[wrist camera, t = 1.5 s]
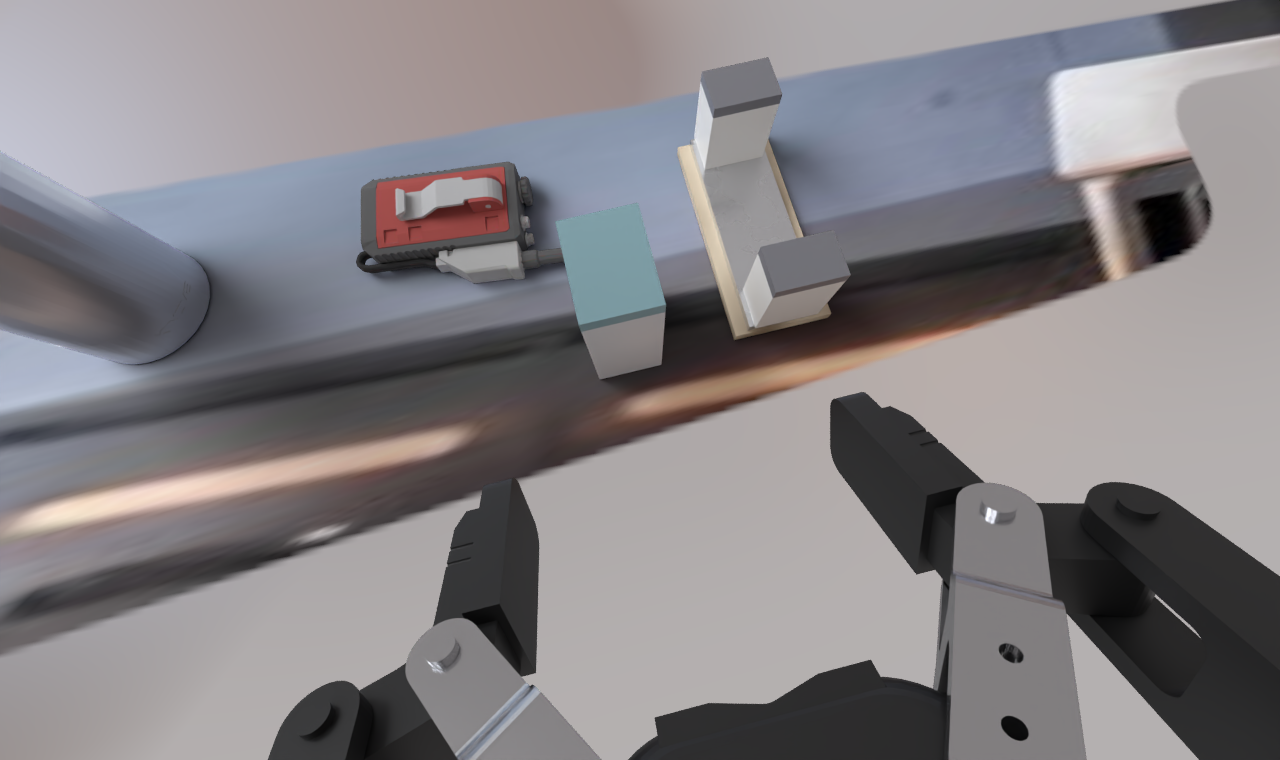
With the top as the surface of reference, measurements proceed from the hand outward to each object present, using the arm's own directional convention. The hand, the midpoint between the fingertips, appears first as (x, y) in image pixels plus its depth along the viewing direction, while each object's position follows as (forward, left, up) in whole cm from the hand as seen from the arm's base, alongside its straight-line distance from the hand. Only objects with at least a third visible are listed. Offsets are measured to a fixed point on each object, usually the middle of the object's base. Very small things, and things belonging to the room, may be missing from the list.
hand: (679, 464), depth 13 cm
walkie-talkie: (-18, +15, -23) cm, 33 cm away
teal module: (-6, +10, -22) cm, 25 cm away
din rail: (+1, +20, -22) cm, 30 cm away
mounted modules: (+1, +20, -20) cm, 29 cm away
